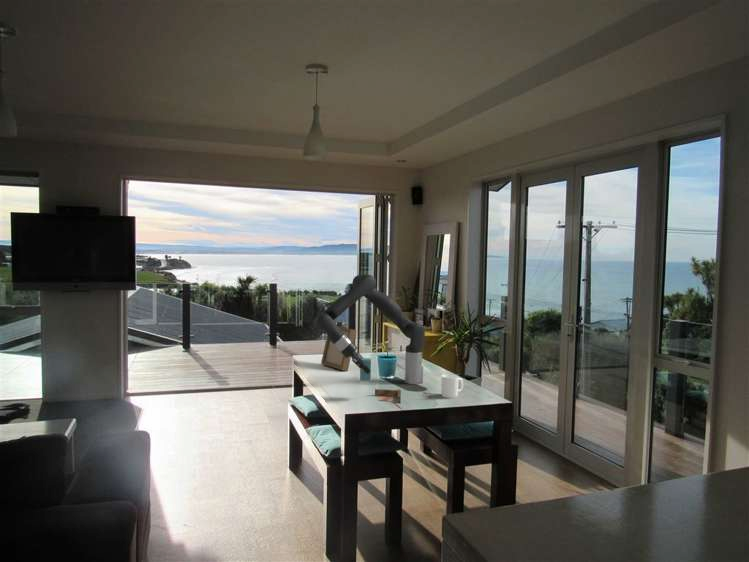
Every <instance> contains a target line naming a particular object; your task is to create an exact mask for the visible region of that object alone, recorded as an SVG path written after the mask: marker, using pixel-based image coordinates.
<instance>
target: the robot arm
mask: <svg viewBox="0 0 749 562" xmlns="http://www.w3.org/2000/svg"><path fill="white" fill-rule="evenodd" d="M376 285H377V281H376V277H374V276H373V275H371V274H369V273H368V274H367V273H366V274H357V275H355V276H354V277H353V279H352V286H353V289H351V290H350V291H348V292H346V293H344V294H343V295H341V296H339V297H338V298H337V299H335V300H334V301H333V302H331V304H330V305H329V306H328V307H327V308H326V309H325V310H324V311H323V312H321V313H320V314H318V315H317V316H316V317H315V318H314V321H313V327H314V328H315V329H317V330H318V331H324V332H325V333H326V338H327V337H328V339H329V340H330V341H331V342H332V343H333V344H334V345H335V346H336V348H337V349H338V350H339V351H340V352H341V353H342V354H343V355H344V356H345V357H346V358H348V357H349V356H351V358H350V359H351V361H352V362H353V363H354V364H355V366H357V367H358V368H359V370H360V369H363V370H364V371H365V372H366V373H367V374H368V373H369V372H370V370H369V368H368V367H367V366H366V365H365V364H364V363H363V360H362V359H361V358H364V357H363V356H362V354H361V353H360V351H359V352H358V351H356V350H357V349H358V346H356V344H355V342H354V343H353V342H352V341H351V340H350V339H349V338H348V337H347V336H346V335H344V334H343V332H342V331H341V330H340V329H339V328H338V327H339V326H338V327H337V324H336V321H335V320H337V319H338V318H339V317H340V316H341V315H342V314H343V313H344V312H345V311H346V310H347V309H349V308H350V307H351V306H352V305H353V304H355V303H357V301H359V300H360V299H361V298H363V297H364V298H365V299H367V300H368V301H369V302H370V303H371V304H372V305H373V306H374V307H375V308H376V309H378V311H379V312H380V313H381V314H383V316H384V317H386V318H387V319H388V320H389V321H390V322H392V324H394V325H395V326H396V327H397V328H398V329H399V330H400V332H401V333H402V334H403V335H404V336H405V337H406V338H408V339H410V340H409V344H408V345H406V346H405V356H404V357H405V358H404V359H405V361H404V383H405V384H410V385H419V384H423V383H424V382H423V381H424V378H423V377H424V365H423V349H424V346H425V335H426V330H425V326H424V325H423V324H421V323H419V322H415V321H413V320H410V319H409V318H408V317H407V316H406V315H404V313H403V310H402V309H401V307H400V305H399V304H398V303H397V301H395V300H394V299H393V298H392V297H391V296H389V295H387V294H386V293H384V292H381V291H380V290H378V289H377V288H376ZM360 360H361V361H360ZM360 364H361V365H360Z"/></svg>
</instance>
